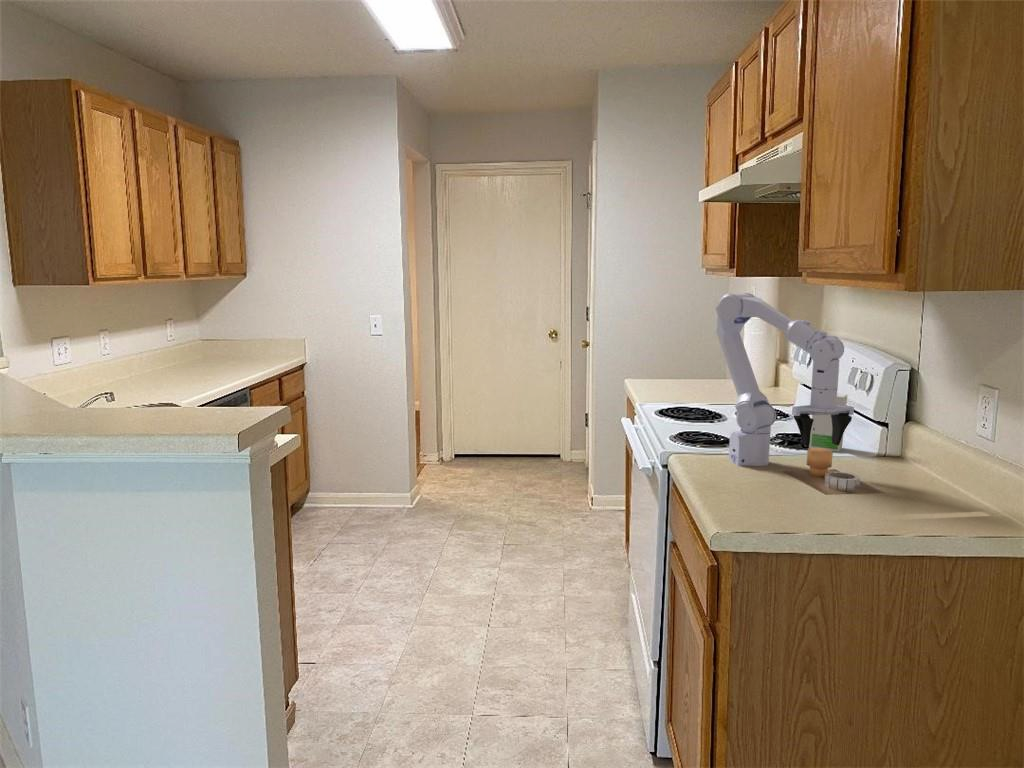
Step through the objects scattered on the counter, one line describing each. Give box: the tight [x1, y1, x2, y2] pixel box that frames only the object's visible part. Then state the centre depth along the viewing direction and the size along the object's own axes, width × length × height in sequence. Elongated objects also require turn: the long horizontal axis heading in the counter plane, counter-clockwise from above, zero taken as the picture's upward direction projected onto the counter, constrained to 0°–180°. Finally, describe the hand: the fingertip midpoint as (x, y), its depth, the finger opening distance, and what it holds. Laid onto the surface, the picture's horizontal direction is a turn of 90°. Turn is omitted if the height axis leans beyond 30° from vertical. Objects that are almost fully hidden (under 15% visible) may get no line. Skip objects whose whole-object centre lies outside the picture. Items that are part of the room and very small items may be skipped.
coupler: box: [806, 447, 834, 477], centre depth 184 cm, size 6×6×6 cm
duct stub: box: [824, 471, 861, 491], centre depth 174 cm, size 7×7×2 cm
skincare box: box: [808, 392, 848, 453], centre depth 215 cm, size 8×7×16 cm
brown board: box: [782, 468, 886, 495], centre depth 179 cm, size 14×20×1 cm
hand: (820, 444), depth 183 cm, fingers open, 7 cm apart
